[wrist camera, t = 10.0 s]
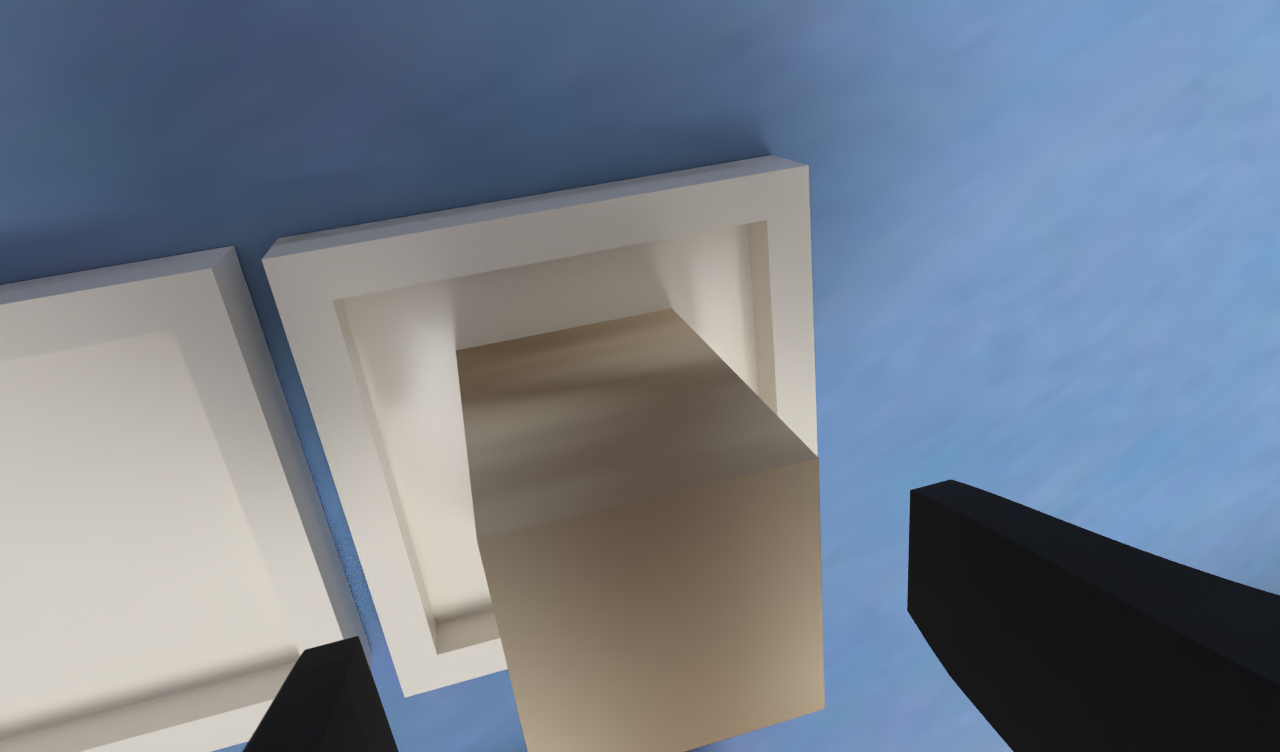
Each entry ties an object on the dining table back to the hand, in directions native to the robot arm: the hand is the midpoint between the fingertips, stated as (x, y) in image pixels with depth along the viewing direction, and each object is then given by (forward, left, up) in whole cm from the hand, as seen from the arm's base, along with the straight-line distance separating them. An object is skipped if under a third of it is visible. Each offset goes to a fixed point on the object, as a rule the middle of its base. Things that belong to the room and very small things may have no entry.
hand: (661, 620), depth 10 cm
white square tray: (-9, 0, -6) cm, 11 cm away
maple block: (0, 0, -6) cm, 6 cm away
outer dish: (0, 0, -6) cm, 6 cm away
